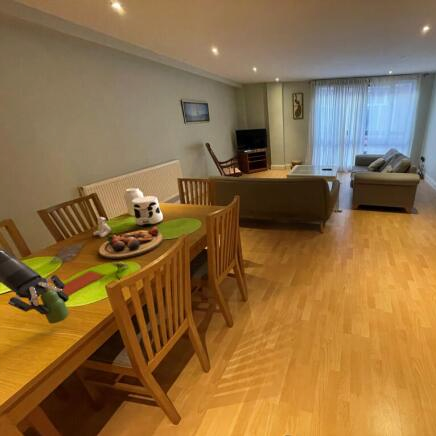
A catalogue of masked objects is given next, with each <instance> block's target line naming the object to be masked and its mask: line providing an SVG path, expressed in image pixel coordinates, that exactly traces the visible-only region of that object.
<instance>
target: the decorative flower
mask: <svg viewBox="0 0 436 436" xmlns="http://www.w3.org/2000/svg"><path fill="white" fill-rule="evenodd" d="M110 265H111V266H112V267H115V268H117V270H116V276H117V278H119V280H121V278H122V277H121V276H120V275H119V270H120V269H127V268H130V266H129V265H128V264H126V263H124V262H123V261H119V262H111V263H110Z"/></svg>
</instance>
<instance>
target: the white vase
mask: <svg viewBox="0 0 436 436" xmlns="http://www.w3.org/2000/svg"><path fill="white" fill-rule="evenodd" d="M139 197H144V193H143V192H142V191H141V190H140V189H139V188H138V187H131V188H127V189H126V190H125V193H124V194H123V198H124V202H125V205H126V208H127V212H128V215H129V216H132V217H135V212H134V209H133V205H132V200H134V199H136V198H139Z"/></svg>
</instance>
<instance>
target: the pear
mask: <svg viewBox="0 0 436 436" xmlns="http://www.w3.org/2000/svg"><path fill="white" fill-rule="evenodd" d="M40 300H41V302H42V305H43V306H45V307H46V308H47V309H49V310H50V312H49V313H48V314H47V315H45V314H44V316H45V318H46V320H47V322H48V323H49V324H57V323H60V322H63V321H64V320H65V319H67V318H68V317H69V316H70V311H69V310H68V309H69V308H68V307H67V305H66V302H64V300H63V299H62V298H59V297H58V295H57V292H56V291H54V290H47V288H45V292H43V293H42V295H40Z"/></svg>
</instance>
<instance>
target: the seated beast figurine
mask: <svg viewBox="0 0 436 436" xmlns="http://www.w3.org/2000/svg"><path fill="white" fill-rule="evenodd" d="M106 222H107V218H106V217H104V216H98V218H97V225H98V226H97V228H98V230H96V231H94V232H92V233H93V234H92V235H93V236H99V237H100V238H101V239H103V238H105V237H106V236H109V234H110V233H111V232H112V228H111V227H110V226H109V225H108V224H107V223H106Z"/></svg>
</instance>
